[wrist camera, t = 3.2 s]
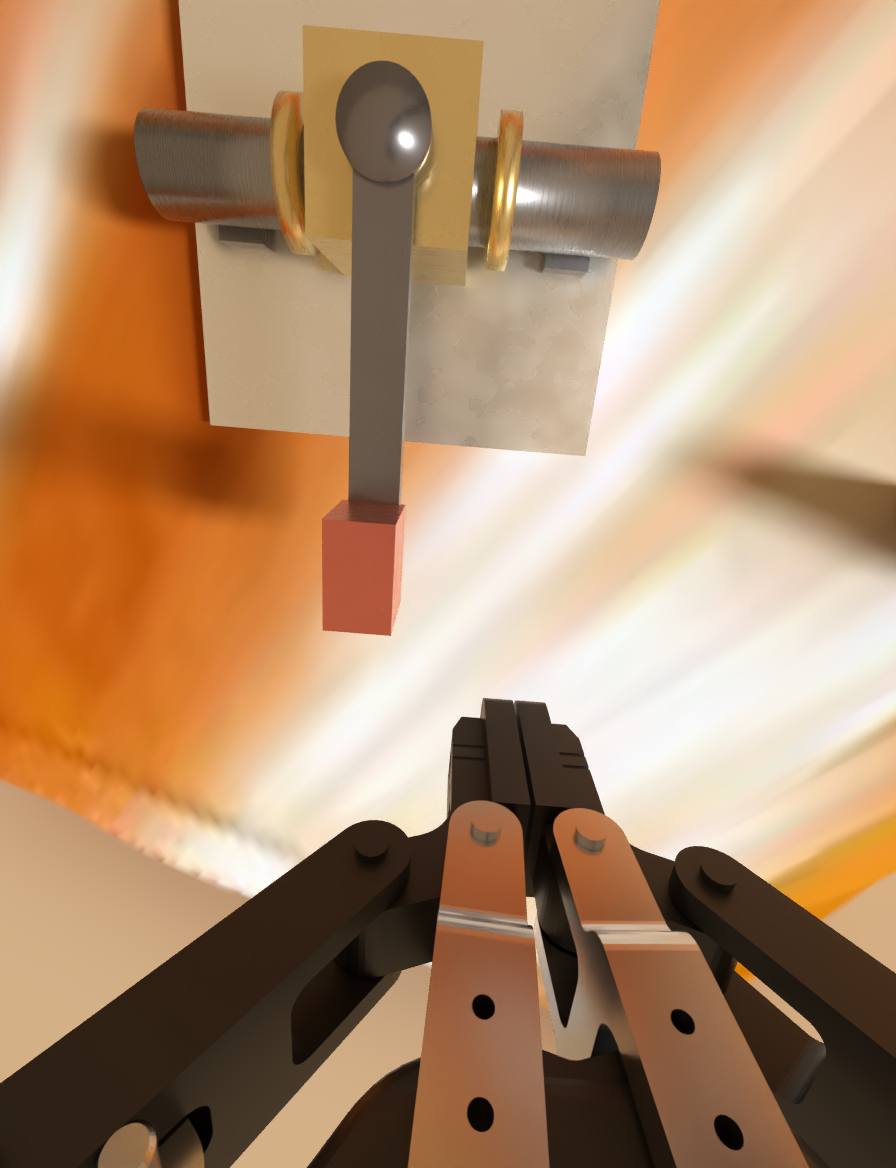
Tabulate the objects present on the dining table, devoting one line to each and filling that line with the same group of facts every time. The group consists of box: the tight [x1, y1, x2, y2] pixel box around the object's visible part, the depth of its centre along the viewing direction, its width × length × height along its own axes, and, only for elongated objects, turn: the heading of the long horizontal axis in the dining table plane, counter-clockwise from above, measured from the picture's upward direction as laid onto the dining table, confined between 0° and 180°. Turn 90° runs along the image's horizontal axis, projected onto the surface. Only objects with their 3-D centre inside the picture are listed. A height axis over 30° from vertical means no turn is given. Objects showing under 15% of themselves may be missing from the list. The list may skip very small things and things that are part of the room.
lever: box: [322, 61, 433, 636], centre depth 22 cm, size 21×4×5 cm, turn 176°
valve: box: [134, 0, 661, 456], centre depth 26 cm, size 24×23×10 cm
